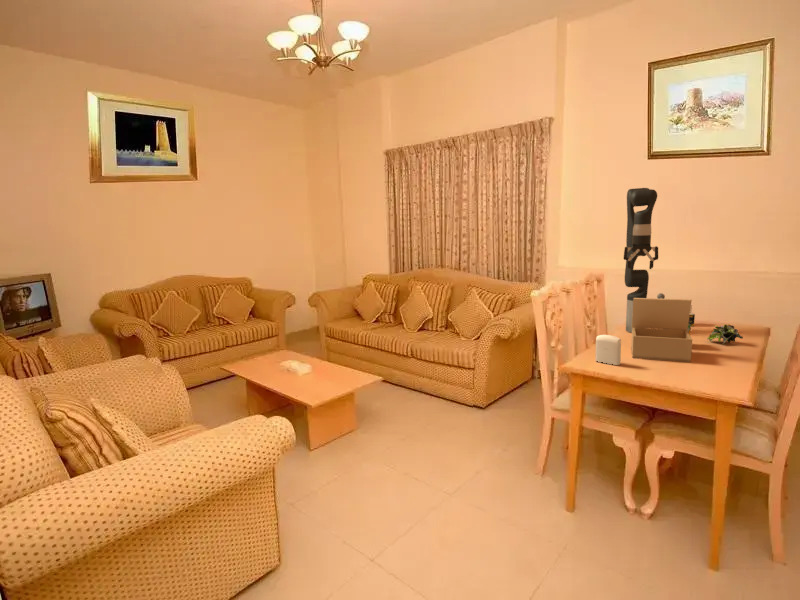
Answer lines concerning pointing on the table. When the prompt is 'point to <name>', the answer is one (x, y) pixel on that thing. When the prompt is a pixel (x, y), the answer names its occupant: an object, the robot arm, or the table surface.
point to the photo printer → (608, 349)
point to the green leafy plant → (725, 333)
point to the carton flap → (661, 313)
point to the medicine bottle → (691, 317)
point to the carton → (661, 344)
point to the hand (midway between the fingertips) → (640, 268)
